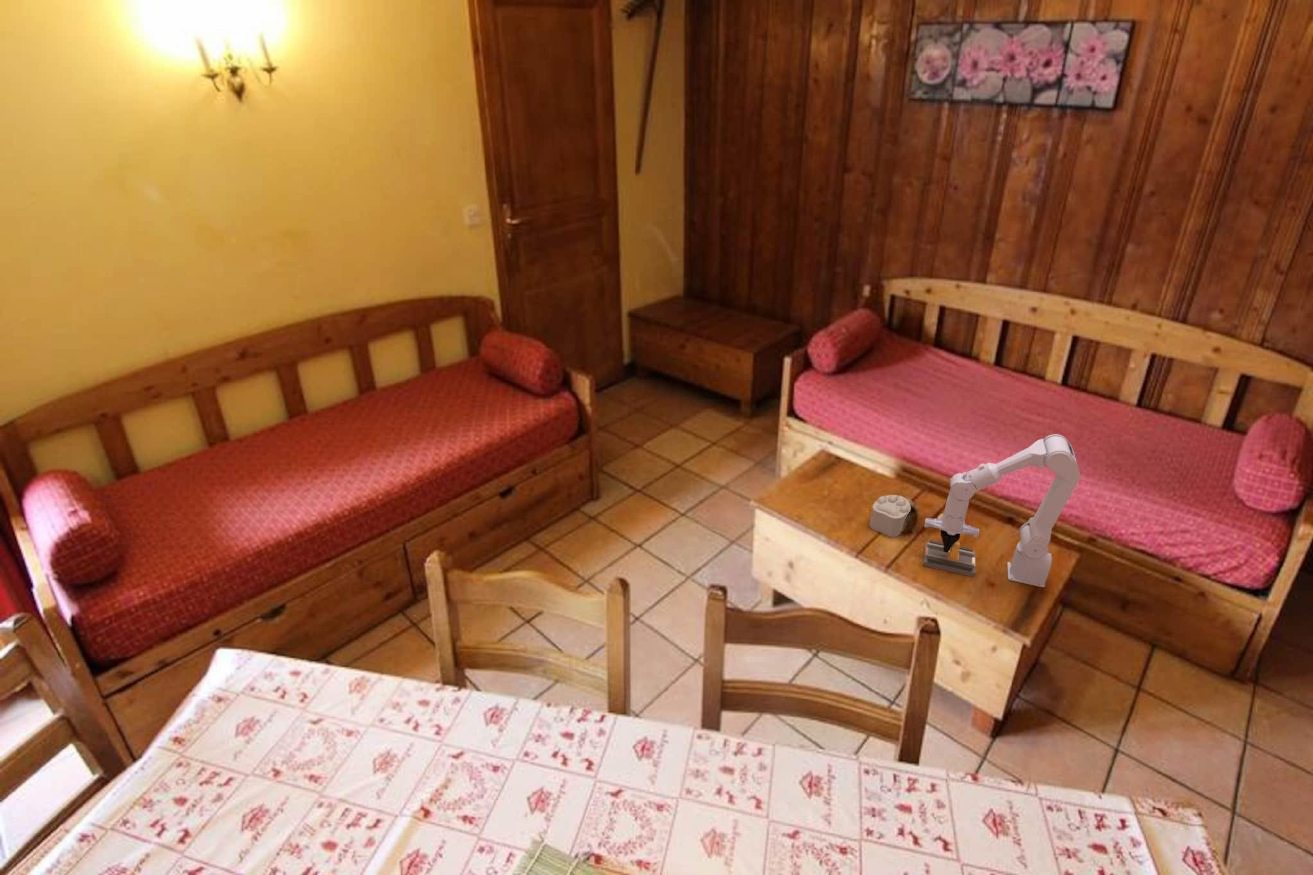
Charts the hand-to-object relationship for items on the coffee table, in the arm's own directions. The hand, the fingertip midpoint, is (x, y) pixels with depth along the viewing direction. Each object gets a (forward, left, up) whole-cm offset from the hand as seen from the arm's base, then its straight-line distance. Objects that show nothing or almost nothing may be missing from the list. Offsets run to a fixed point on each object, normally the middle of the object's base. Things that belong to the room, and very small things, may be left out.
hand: (945, 550), depth 212 cm
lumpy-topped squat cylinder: (+17, -13, -4) cm, 21 cm away
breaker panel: (-1, 0, -4) cm, 4 cm away
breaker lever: (-2, 0, -2) cm, 3 cm away
